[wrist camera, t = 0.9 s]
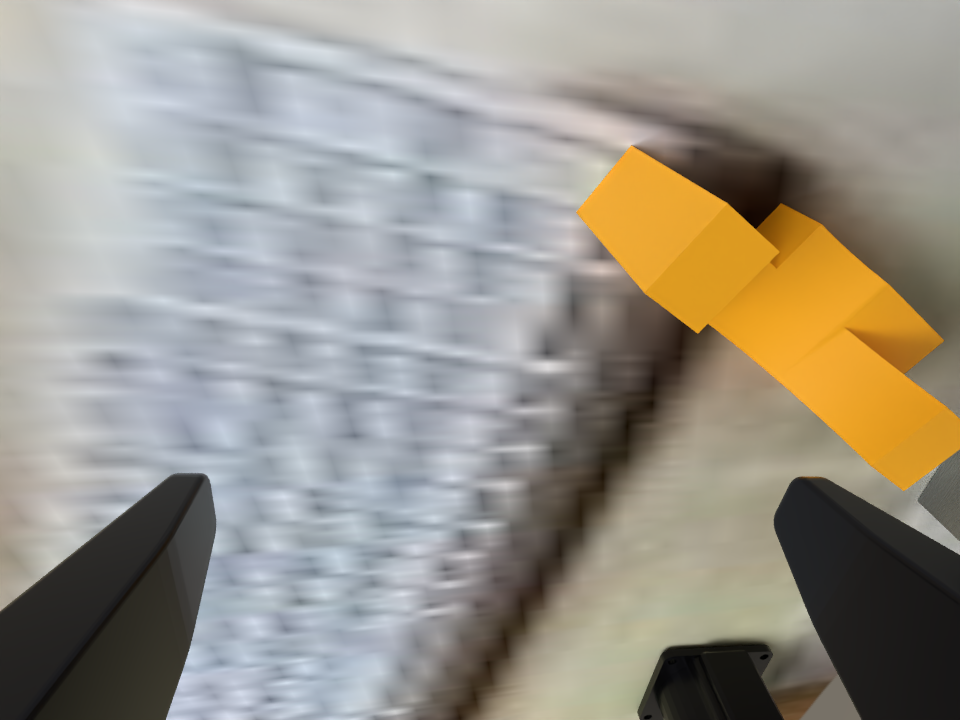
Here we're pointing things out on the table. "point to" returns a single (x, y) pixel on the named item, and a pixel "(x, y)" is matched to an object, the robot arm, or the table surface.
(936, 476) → the rail
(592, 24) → the table surface
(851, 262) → the pipe clamp
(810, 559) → the robot arm
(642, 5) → the table surface
